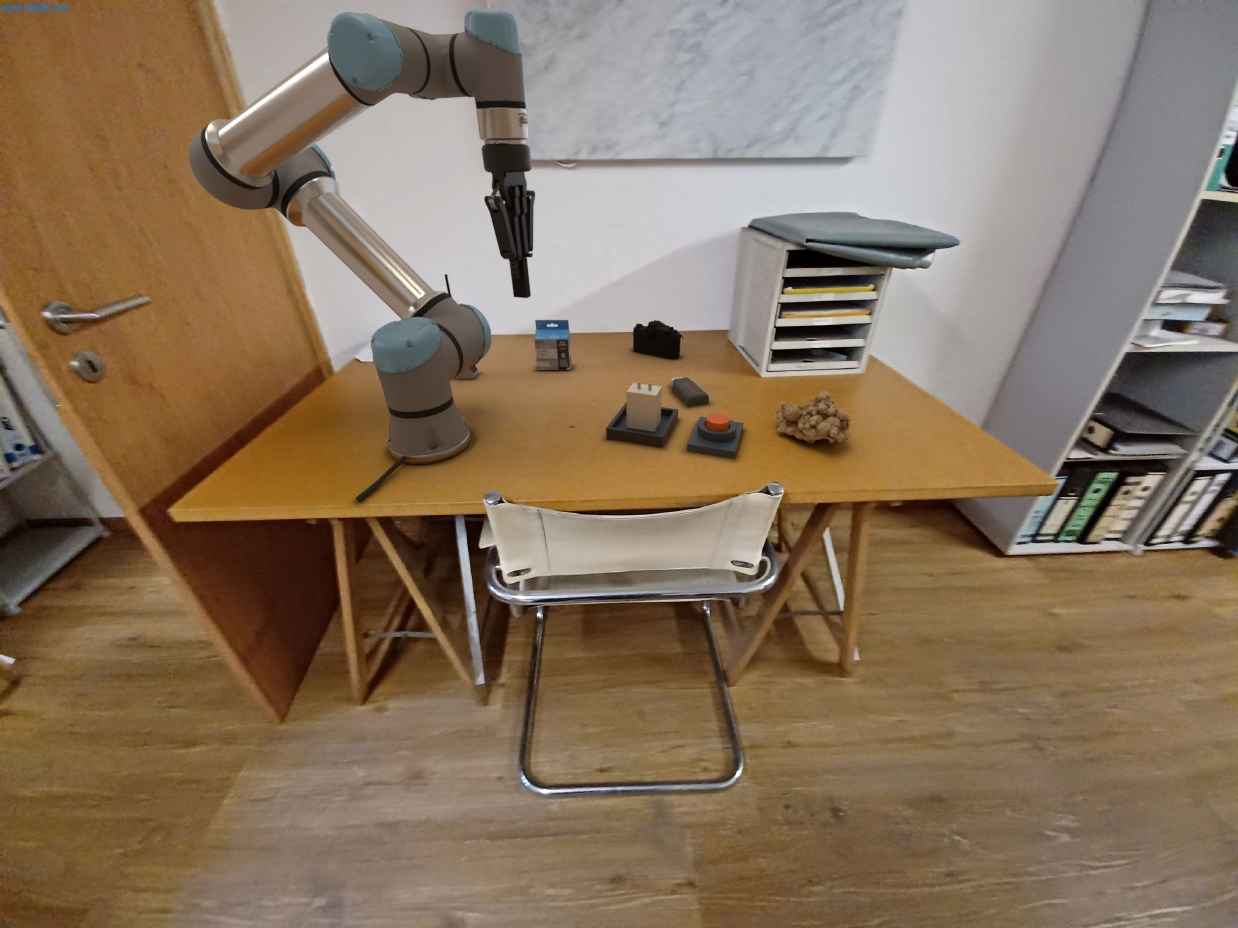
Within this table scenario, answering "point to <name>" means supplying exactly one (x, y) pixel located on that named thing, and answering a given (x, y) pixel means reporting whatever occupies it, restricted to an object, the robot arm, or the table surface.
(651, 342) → the film camera
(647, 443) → the cradle
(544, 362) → the label tape box
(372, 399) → the table surface
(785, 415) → the mineral formation
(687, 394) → the usb drive
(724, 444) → the switch block
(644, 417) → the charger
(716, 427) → the button
